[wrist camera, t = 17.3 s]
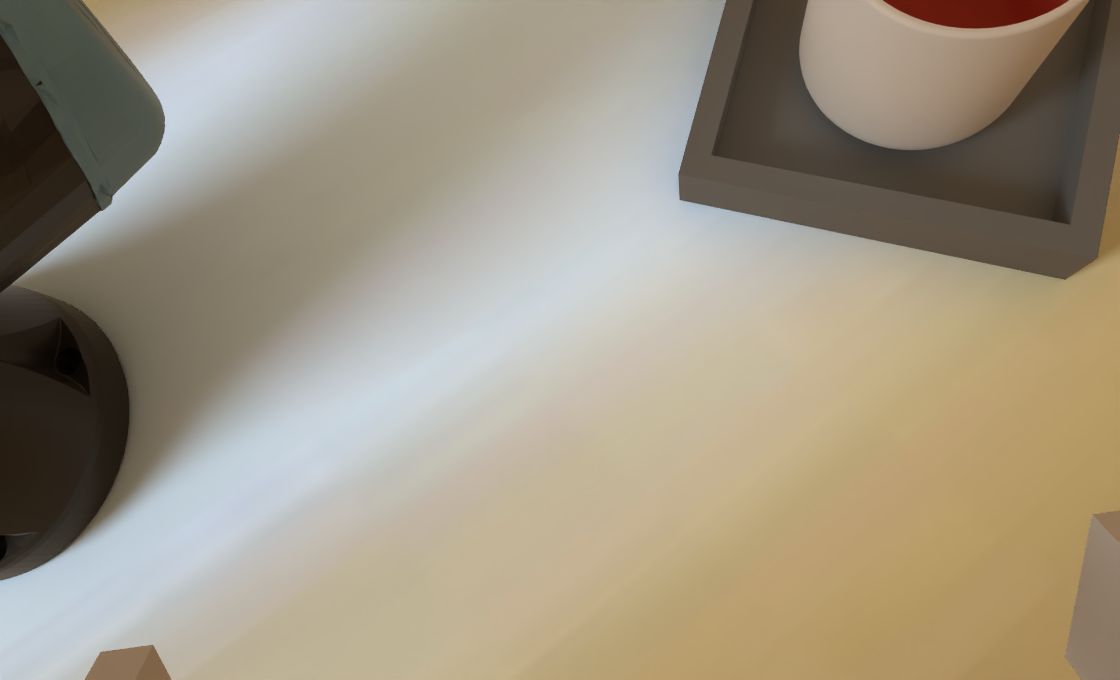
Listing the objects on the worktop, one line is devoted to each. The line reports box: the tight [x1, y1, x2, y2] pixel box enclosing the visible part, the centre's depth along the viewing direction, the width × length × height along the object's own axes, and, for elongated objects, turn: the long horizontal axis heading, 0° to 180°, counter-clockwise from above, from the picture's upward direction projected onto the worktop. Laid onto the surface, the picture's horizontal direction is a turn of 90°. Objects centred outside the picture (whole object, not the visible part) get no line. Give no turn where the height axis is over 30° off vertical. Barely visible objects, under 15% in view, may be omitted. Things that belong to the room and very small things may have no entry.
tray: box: [679, 0, 1120, 279], centre depth 38 cm, size 17×17×3 cm
